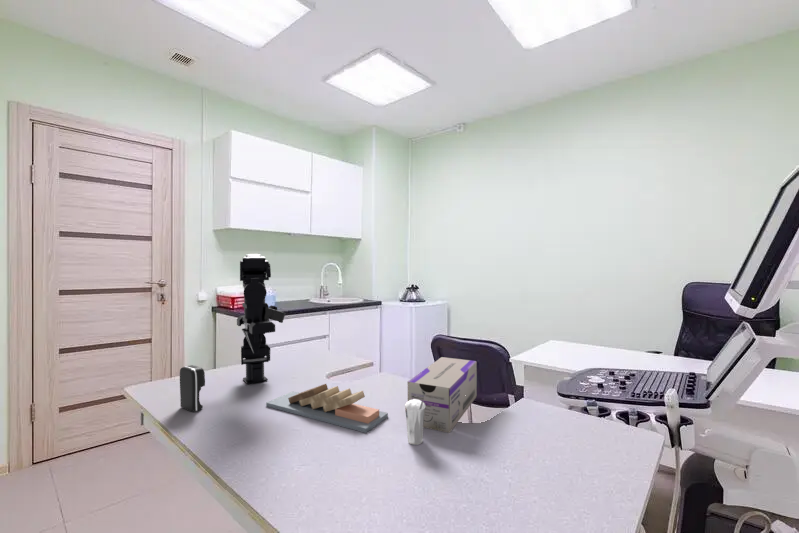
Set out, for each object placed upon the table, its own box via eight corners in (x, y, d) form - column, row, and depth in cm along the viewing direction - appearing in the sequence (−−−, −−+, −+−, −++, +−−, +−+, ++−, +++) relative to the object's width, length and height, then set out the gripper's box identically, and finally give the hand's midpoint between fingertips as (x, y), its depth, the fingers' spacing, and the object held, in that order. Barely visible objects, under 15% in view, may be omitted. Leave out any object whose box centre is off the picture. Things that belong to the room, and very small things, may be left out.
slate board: (266, 406, 104) (266, 402, 104) (292, 394, 113) (292, 391, 113) (365, 432, 88) (365, 428, 88) (387, 416, 97) (387, 413, 97)
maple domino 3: (322, 406, 98) (351, 396, 93) (334, 399, 102) (362, 390, 98) (324, 412, 97) (353, 403, 93) (336, 405, 102) (365, 396, 97)
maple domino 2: (310, 403, 100) (337, 394, 95) (323, 397, 104) (349, 388, 100) (312, 409, 99) (339, 400, 95) (324, 403, 104) (351, 394, 99)
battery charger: (207, 408, 103) (206, 366, 103) (193, 413, 100) (192, 370, 100) (193, 403, 107) (192, 362, 107) (179, 407, 104) (178, 366, 103)
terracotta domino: (335, 409, 96) (368, 416, 91) (347, 402, 100) (379, 409, 95) (335, 415, 96) (368, 423, 91) (347, 408, 100) (379, 415, 95)
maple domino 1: (299, 400, 102) (325, 391, 97) (311, 394, 106) (337, 385, 102) (300, 406, 101) (327, 397, 97) (313, 400, 106) (339, 391, 101)
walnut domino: (288, 398, 104) (313, 389, 99) (301, 392, 108) (326, 383, 103) (289, 403, 103) (315, 395, 99) (303, 397, 108) (328, 389, 103)
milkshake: (413, 450, 80) (413, 403, 80) (401, 439, 85) (401, 395, 85) (431, 445, 82) (431, 399, 82) (418, 435, 87) (418, 391, 87)
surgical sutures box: (449, 433, 88) (449, 388, 88) (407, 424, 93) (407, 381, 93) (476, 397, 111) (476, 361, 110) (441, 391, 115) (441, 357, 115)
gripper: (293, 300, 108) (293, 355, 108) (272, 295, 123) (273, 343, 123) (252, 303, 101) (253, 362, 101) (236, 297, 116) (236, 348, 117)
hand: (255, 353), depth 111 cm, fingers closed
